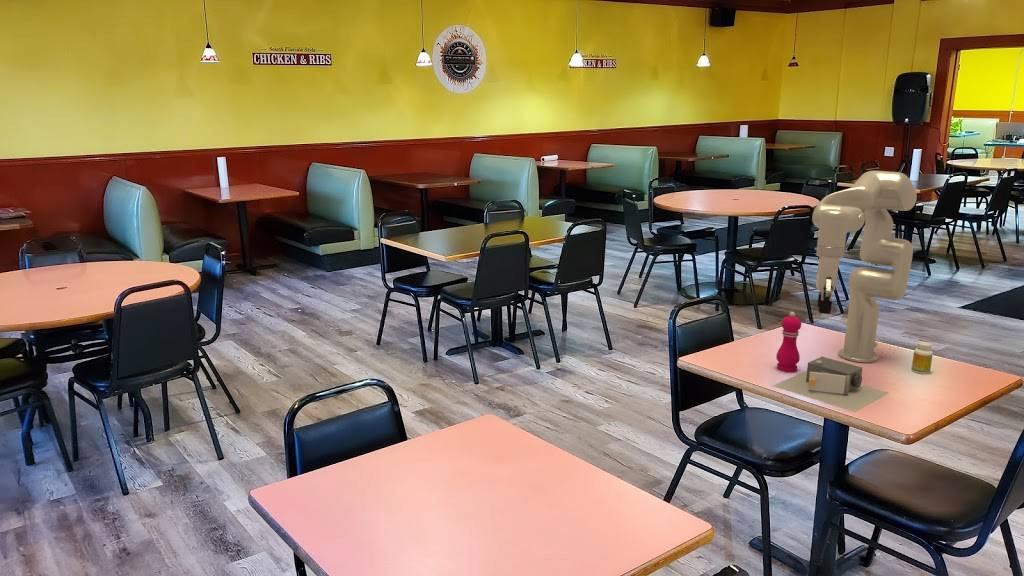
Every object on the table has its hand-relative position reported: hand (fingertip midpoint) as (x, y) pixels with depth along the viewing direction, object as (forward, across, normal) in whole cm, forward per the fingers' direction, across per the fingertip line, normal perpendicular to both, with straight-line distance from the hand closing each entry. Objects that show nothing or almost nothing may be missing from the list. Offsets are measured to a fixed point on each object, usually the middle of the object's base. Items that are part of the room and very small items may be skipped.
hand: (823, 309), depth 228 cm
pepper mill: (+26, -15, -8) cm, 31 cm away
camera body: (+25, -6, +6) cm, 26 cm away
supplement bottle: (+26, -29, +34) cm, 51 cm away
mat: (+26, -1, +4) cm, 26 cm away
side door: (+25, +3, +3) cm, 25 cm away
